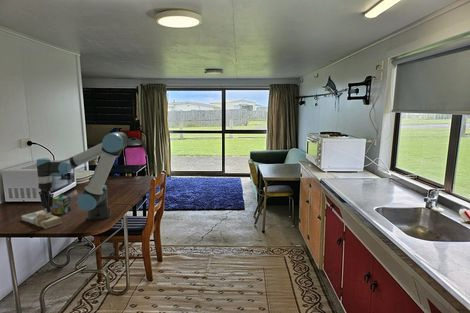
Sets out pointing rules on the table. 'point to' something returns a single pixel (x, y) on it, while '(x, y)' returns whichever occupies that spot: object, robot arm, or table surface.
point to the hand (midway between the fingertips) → (48, 217)
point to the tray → (28, 218)
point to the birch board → (48, 222)
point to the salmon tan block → (43, 215)
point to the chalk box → (61, 204)
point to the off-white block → (37, 213)
